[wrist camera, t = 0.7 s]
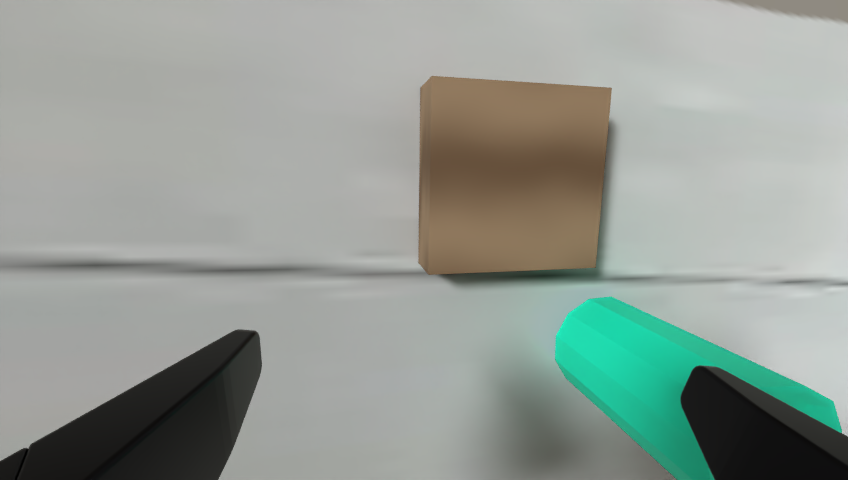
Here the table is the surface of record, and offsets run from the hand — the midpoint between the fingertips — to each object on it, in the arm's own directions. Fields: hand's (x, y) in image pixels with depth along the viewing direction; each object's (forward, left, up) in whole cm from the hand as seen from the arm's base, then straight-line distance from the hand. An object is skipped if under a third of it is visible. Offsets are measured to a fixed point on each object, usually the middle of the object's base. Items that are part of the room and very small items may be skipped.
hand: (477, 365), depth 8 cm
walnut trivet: (+4, -6, -13) cm, 15 cm away
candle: (-6, -13, -13) cm, 20 cm away
